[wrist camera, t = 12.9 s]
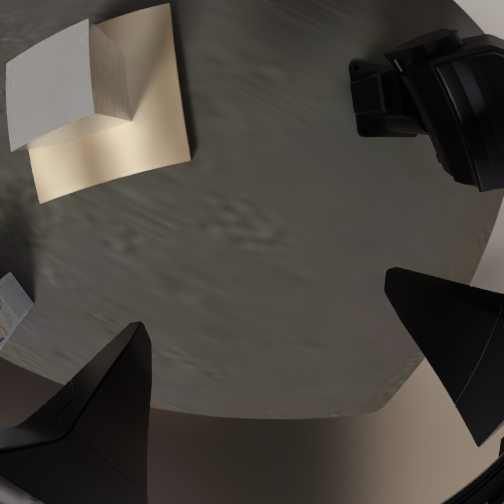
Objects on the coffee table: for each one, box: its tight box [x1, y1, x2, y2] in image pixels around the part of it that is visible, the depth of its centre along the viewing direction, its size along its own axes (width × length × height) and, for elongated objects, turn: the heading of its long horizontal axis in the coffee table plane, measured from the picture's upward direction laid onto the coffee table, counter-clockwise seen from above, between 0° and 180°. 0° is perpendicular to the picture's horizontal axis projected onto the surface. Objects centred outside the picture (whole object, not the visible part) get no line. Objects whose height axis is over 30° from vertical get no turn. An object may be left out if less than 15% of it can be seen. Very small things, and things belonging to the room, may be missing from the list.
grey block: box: [6, 19, 132, 152], centre depth 12 cm, size 6×6×7 cm
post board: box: [29, 3, 192, 204], centre depth 14 cm, size 13×13×5 cm
